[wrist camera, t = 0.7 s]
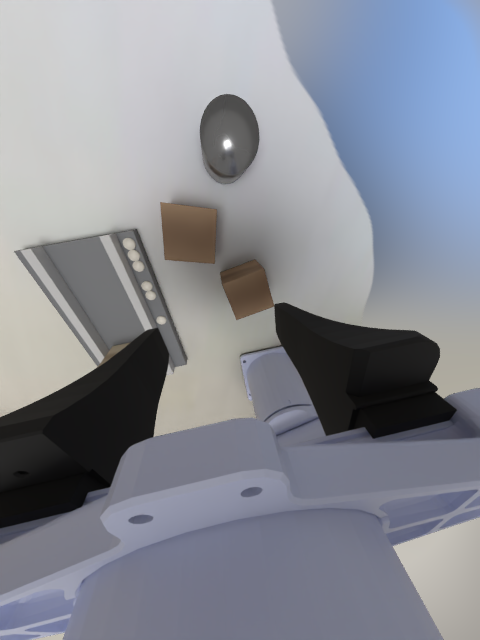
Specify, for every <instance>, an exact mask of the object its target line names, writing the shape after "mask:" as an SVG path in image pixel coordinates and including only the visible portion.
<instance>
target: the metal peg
mask: <svg viewBox="0 0 480 640" xmlns="http://www.w3.org/2000/svg"><path fill="white" fill-rule="evenodd" d="M200 139H201V148H202V156H203V163H204V166H205V169H206V171H207V173H208V174H209V175H210V177H211V178H212V179H213V180H215V181H216V182H218V183H221V184H230V183H233V182H235V181H236V180H237V179H238V178H239V177H240V176H241V175H242V174H243V172H244V171H245V170H246V169H247V168H248V167H249V165H250V164H251V163H252V161H253V160H254V158H255V156H256V153H257V150H258V145H259V128H258V123H257V120H256V117H255V115H254V113H253V111H252V109H251V108H250V106H249V105H248V104H247V103H246V102H245V101H244V100H243V99H241V98H239V97H238V96H235V95H231V94H224V95H220V96H218V97H216V98H215V99H213V100H212V101H211V102H210V103H209V105H208V106H207V107H206V109H205V111H204V113H203V116H202V119H201V125H200Z"/></svg>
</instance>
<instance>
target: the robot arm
mask: <svg viewBox="0 0 480 640" xmlns="http://www.w3.org/2000/svg"><path fill="white" fill-rule="evenodd" d="M274 307H275V323H276V333H277V335H278V338H279V340H280V342H281V344H282V346H281V347H276V348H272V349H267V350H262V351H258V352H253V353H248V354H244V355H241V356H240V360H241V365H242V370H243V375H244V380H245V385H246V390H247V395H248V399H249V400H250V401H252V402H253V406H254V411H255V415H256V419H255V418H238V419H231V420H227V421H222V422H218V423H214V424H209V425H205V426H200V427H196V428H192V429H187V430H183V431H178V432H174V433H170V434H165V435H161V436H156V437H153V435H154V427H155V420H156V414H157V408H158V403H159V399H160V396H161V392H162V388H163V385H164V381H165V377H166V374H167V370H168V363H169V352H168V349H167V347H166V345H165V342H164V340H163V338H162V336H161V333H160V331H159V329H158V328H154V329H149V330H146V331H145V332H143V333H142V334H141V335H139V336H138V337H137V338H136V339H134V340H133V341H132V342H131V343H130V344H128V345H127V346H126V347H125V348H123V349H122V350H121V351H120V352H118V353H117V354H116V355H114V356H113V357H112V358H110V359H109V360H108V361H106V362H105V363H103V364H102V365H101V366H99V367H98V368H96V369H94V370H93V371H91V372H90V373H88V374H87V375H85V376H83V377H82V378H80V379H78V380H76V381H75V382H73V383H71V384H69V385H68V386H66V387H64V388H62V389H60V390H58V391H56V392H54V393H52V394H51V395H49V396H47V397H44V398H42V399H40V400H38V401H36V402H34V403H32V404H30V405H28V406H25V407H23V408H21V409H19V410H16V411H14V412H12V413H9V414H7V415H5V416H2V417H0V640H32V639H37V638H42V637H46V636H51V635H55V634H60V633H65V634H64V637H63V640H444V639H443V638H442V636H441V634H440V632H439V630H438V629H437V627H436V625H435V623H434V621H433V619H432V618H431V616H430V614H429V612H428V610H427V609H426V607H425V605H424V603H423V601H422V599H421V598H420V596H419V594H418V592H417V590H416V588H415V587H414V585H413V583H412V581H411V579H410V578H409V576H408V574H407V572H406V570H405V568H404V567H403V565H402V563H401V561H400V559H399V557H398V556H397V554H396V552H395V550H394V548H393V547H392V546H394V545H398V544H401V543H404V542H407V541H410V540H412V539H415V538H419V537H422V536H424V535H428V534H430V533H433V532H437V531H439V530H442V529H445V528H448V527H451V526H454V525H457V524H460V523H463V522H466V521H469V520H473V519H476V518H479V517H480V388H475V389H471V390H467V391H462V392H458V393H454V394H451V395H449V396H447V397H446V398H444V399H443V398H442V397H440V396H439V395H438V394H437V393H435V392H436V391H437V390H438V388H437V386H435V385H434V384H433V383H432V382H430V381H429V379H430V377H431V375H432V373H433V371H434V369H435V367H436V365H437V363H438V360H439V358H440V348H439V346H438V345H437V343H435V342H434V341H432V340H430V339H429V338H427V337H425V336H423V335H422V334H420V333H418V332H416V331H409V330H388V329H378V328H368V327H361V326H355V325H350V324H345V323H340V322H336V321H333V320H329V319H325V318H322V317H319V316H317V315H314V314H311V313H309V312H306V311H304V310H301V309H299V308H297V307H294V306H292V305H290V304H287V303H279V304H274ZM244 360H246V361H244Z"/></svg>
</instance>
